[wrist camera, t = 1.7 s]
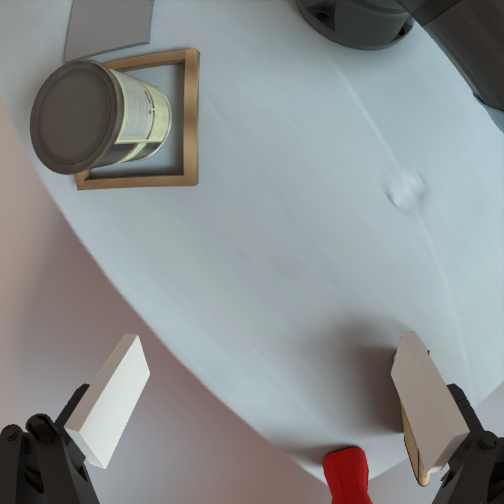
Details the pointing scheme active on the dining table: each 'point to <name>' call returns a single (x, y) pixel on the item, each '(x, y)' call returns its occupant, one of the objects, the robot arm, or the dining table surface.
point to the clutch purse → (413, 449)
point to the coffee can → (96, 118)
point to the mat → (107, 26)
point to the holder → (190, 124)
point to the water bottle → (347, 476)
